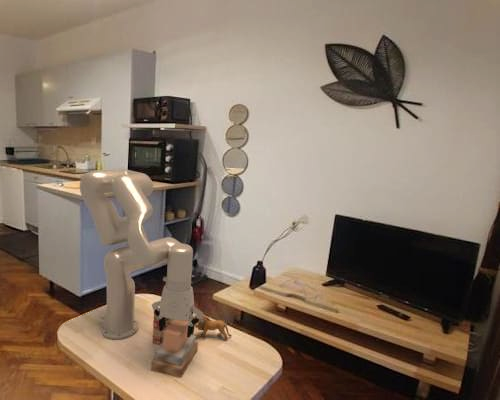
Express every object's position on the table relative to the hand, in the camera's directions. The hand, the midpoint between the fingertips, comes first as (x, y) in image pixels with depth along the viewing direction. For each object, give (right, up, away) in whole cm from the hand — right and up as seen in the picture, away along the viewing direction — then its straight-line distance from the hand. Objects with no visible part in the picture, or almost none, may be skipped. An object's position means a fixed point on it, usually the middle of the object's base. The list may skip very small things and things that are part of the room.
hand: (175, 332), depth 109 cm
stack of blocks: (-6, -6, +19) cm, 21 cm away
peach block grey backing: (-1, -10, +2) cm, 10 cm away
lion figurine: (+9, -8, +15) cm, 20 cm away
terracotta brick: (0, -4, +1) cm, 4 cm away
